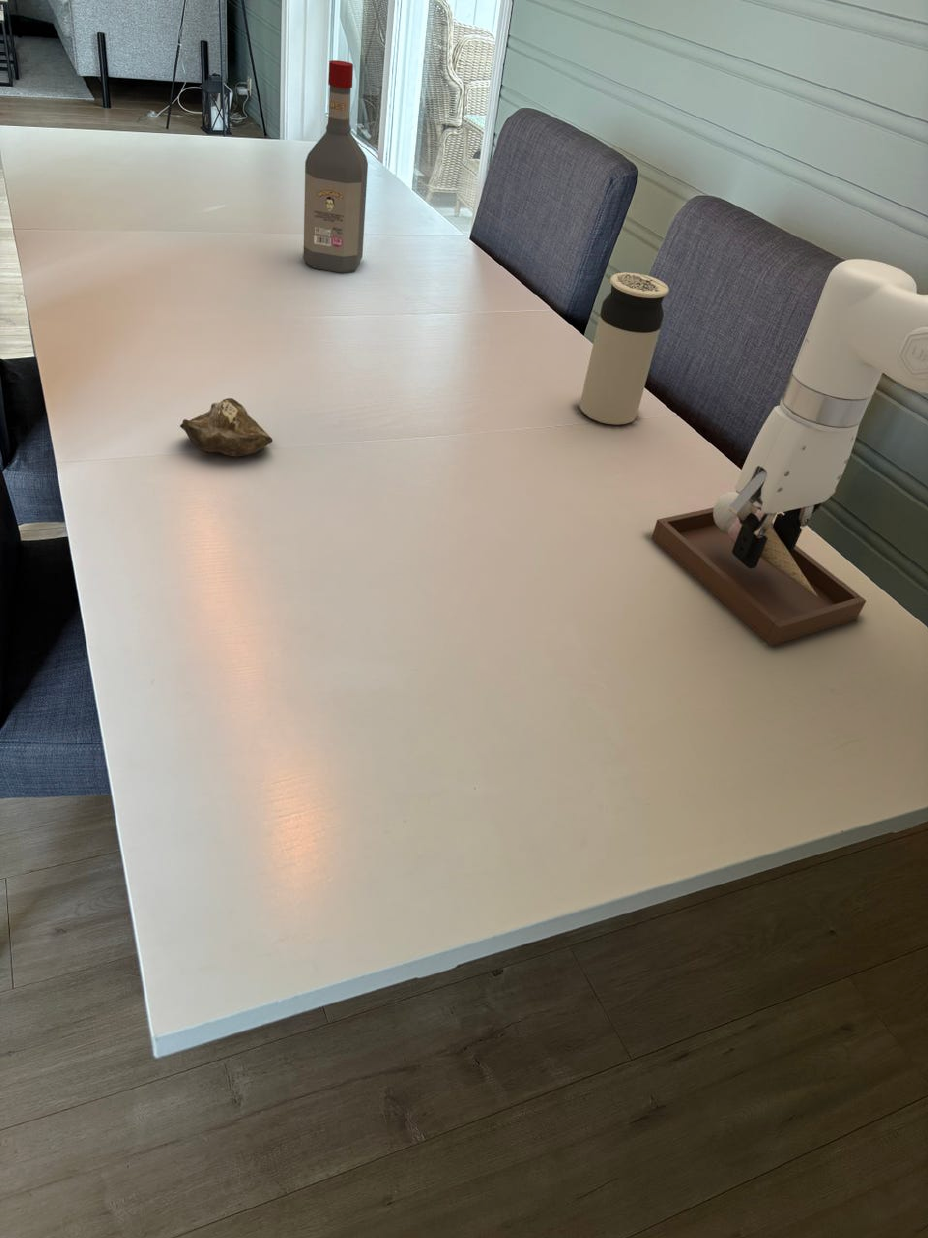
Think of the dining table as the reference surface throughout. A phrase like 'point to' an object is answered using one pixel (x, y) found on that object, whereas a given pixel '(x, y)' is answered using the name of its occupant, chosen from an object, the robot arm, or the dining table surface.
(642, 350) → the travel mug
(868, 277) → the robot arm
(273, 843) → the dining table surface
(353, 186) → the liquor
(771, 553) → the ice cream cone
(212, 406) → the fossilized seashell
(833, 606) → the tray
